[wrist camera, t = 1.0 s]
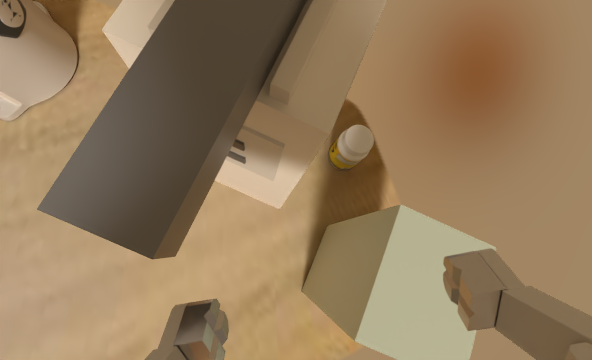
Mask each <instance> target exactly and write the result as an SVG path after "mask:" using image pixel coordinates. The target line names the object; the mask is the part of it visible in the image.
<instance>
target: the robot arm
mask: <svg viewBox="0 0 592 360" xmlns="http://www.w3.org/2000/svg"><path fill="white" fill-rule="evenodd" d="M76 65H77V50H76V46H75V44H74V41H73V40H72V38H71V37H70V35H69V34H68V33H67V32H66V31H65V30H64V29H63V28H61V27H60V26H59V25H58V24H56V23H55V22H54V21H53V20H52V18H51V16H50V14H49V12H48V10H47V9H46V8H45V7H44V6H43V5H42V4H41V3H39V2H37V1H32V0H0V119H2V120H6V121H10V120H14V119H15V118H17V117H18V116H20V115H21V114H22V113H23V112H24V111H26V110H27V109H28V108H29V107H30V106H32V105H34V104H37V103H39V102H42V101H44V100H46V99H48V98H50V97H52V96H54V95H55V94H57V93H58V92H59V91H60V90H62V89H63V88H64V87H65V86H66V85H67V83H68V82H69V81H70V79H71V78H72V76H73V74H74V72H75V69H76ZM443 265H444V266H445V268H446V271H445V272H444V273H443V282H444V287H445V290H446V292H447V295H448V296H449V298H450V300H451V301H452V302H453V303H455V304H457V305H458V312H457V313H458V315H459V316H460V318H461V320H462V322H463V323H464V325H465V327H466V329H467V331H473V330H480V329H487V328H495V327H496V328H495V329H496V330H497V331H499V332H500V333H501V334H503V335H504V336H505V337H507V338H508V339H509V340H511V341H512V342H513V343H515V344H516V345H517V346H519V347H520V348H521V349H523V350H524V351H525V352H527V353H528V354H529V355H531V356H532V357H534V358H535V359H536V360H592V316H590V315H588V314H586V313H584V312H582V311H580V310H578V309H576V308H573V307H572V306H570V305H568V304H566V303H564V302H562V301H559V300H558V299H556V298H554V297H552V296H550V295H548V294H546V293H544V292H542V291H539V290H538V289H535V288H534V287H532V286H527V287H525V285H524V284H523V283H522V282H521V281H520V280H519V278H518V277H517V276H516V275H515V274H514V273H513V272H512V270H511V269H510V268H509V267H508V265H507V264H506V263H505V262H504V261H503V260H502V259H501V257H500V256H499V255H498V254H497V253H496V251H495V250H493V249H492V248H489V249H483V250H478V251H471V252H466V253H461V254H456V255H451V256H445V258H444V261H443ZM219 308H220V303H219V302H218V300H217V299H210V300H204V301H197V302H191V303H185V304H179V305H175V306H174V308H173V309H172V311H171V313H170V316H169V319H168V322H167V325H166V327H165V330H164V333H163V336H162V338H161V341H160V344H159V347H158V349H156V350H153V351H152V352H151V353H150V354H149V355H148V357H147V358H146V359H145V360H224V356H225V350H224V348H223V346H222V345H223V344H224V343H225V341H226V340H227V338H228V331H229V330H228V320H227V316H226V314H225V312H223V311H221V310H219Z"/></svg>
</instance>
